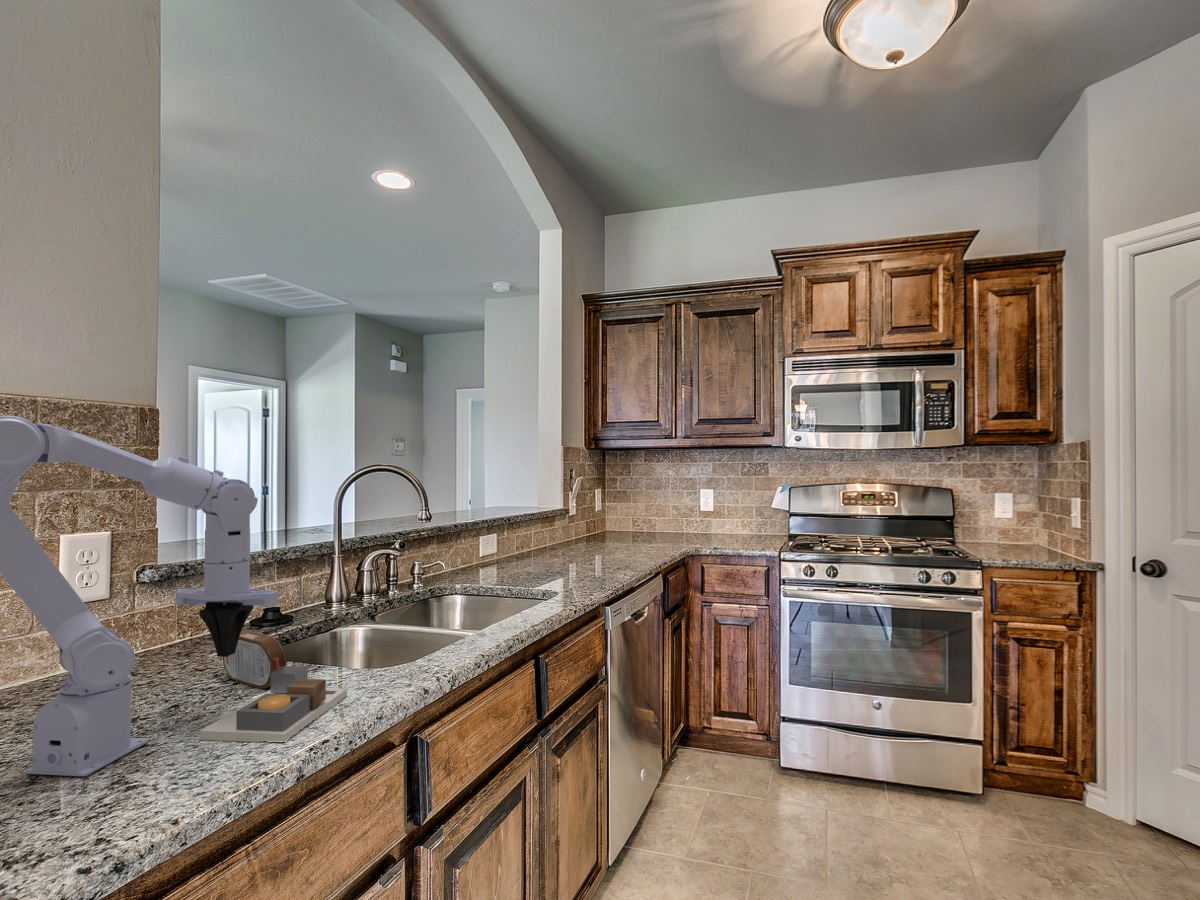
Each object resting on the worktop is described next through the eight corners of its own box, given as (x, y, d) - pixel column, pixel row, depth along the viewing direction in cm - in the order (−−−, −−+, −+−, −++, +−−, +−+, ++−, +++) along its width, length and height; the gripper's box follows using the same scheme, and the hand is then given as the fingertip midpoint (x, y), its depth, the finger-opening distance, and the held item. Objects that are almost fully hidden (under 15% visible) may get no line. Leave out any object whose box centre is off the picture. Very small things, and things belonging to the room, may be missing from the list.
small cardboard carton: (313, 708, 92) (313, 687, 92) (287, 707, 92) (287, 686, 92) (325, 699, 95) (325, 679, 95) (300, 698, 96) (300, 678, 96)
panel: (284, 743, 84) (284, 715, 84) (199, 739, 85) (200, 712, 85) (346, 696, 101) (347, 672, 101) (275, 693, 102) (275, 670, 102)
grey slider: (294, 693, 98) (295, 673, 98) (270, 692, 98) (270, 673, 98) (307, 685, 101) (307, 666, 101) (283, 684, 102) (283, 666, 102)
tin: (288, 688, 105) (288, 637, 105) (269, 694, 102) (270, 642, 102) (236, 673, 112) (236, 625, 113) (218, 678, 110) (218, 629, 110)
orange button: (279, 724, 86) (279, 705, 86) (251, 723, 87) (251, 704, 87) (296, 712, 90) (296, 694, 90) (269, 711, 91) (269, 694, 91)
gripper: (290, 557, 96) (289, 647, 95) (200, 556, 97) (199, 645, 97) (261, 565, 89) (260, 662, 88) (164, 563, 90) (163, 659, 90)
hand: (226, 654), depth 92 cm, fingers closed
